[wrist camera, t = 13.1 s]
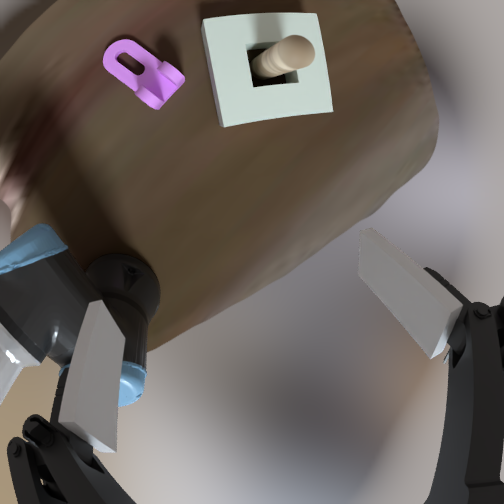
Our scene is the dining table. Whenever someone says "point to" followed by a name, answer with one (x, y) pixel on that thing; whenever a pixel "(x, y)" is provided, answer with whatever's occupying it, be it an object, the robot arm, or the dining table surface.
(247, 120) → the socket block
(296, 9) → the dining table surface
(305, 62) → the peg
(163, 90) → the bracket
